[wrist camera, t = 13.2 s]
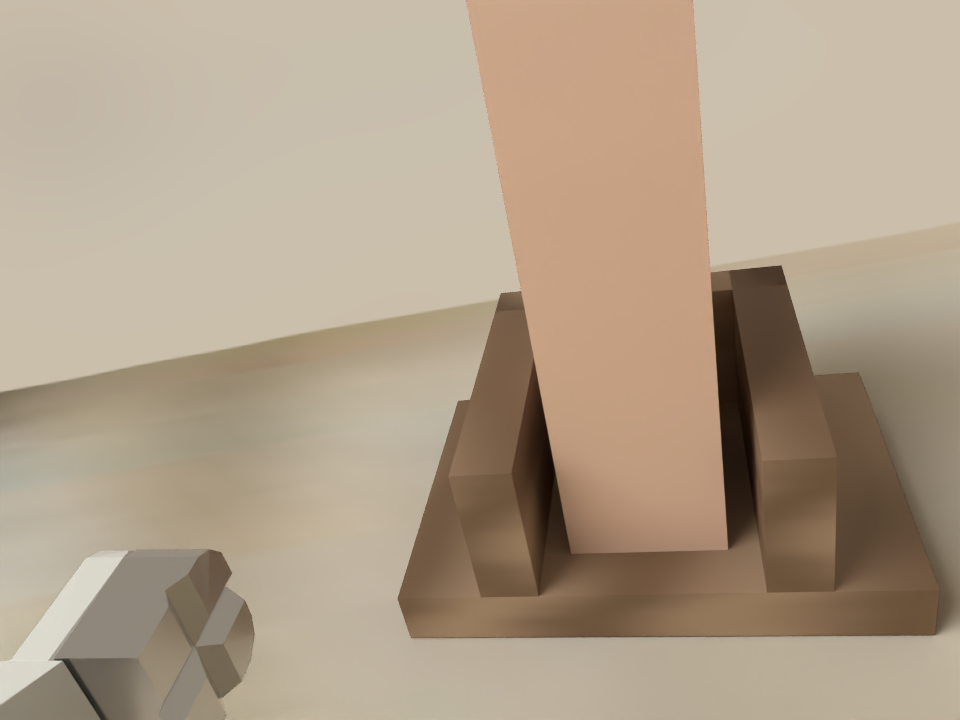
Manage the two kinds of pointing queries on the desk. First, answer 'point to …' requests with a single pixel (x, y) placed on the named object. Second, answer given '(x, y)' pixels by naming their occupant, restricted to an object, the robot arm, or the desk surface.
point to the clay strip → (612, 259)
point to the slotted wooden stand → (678, 574)
